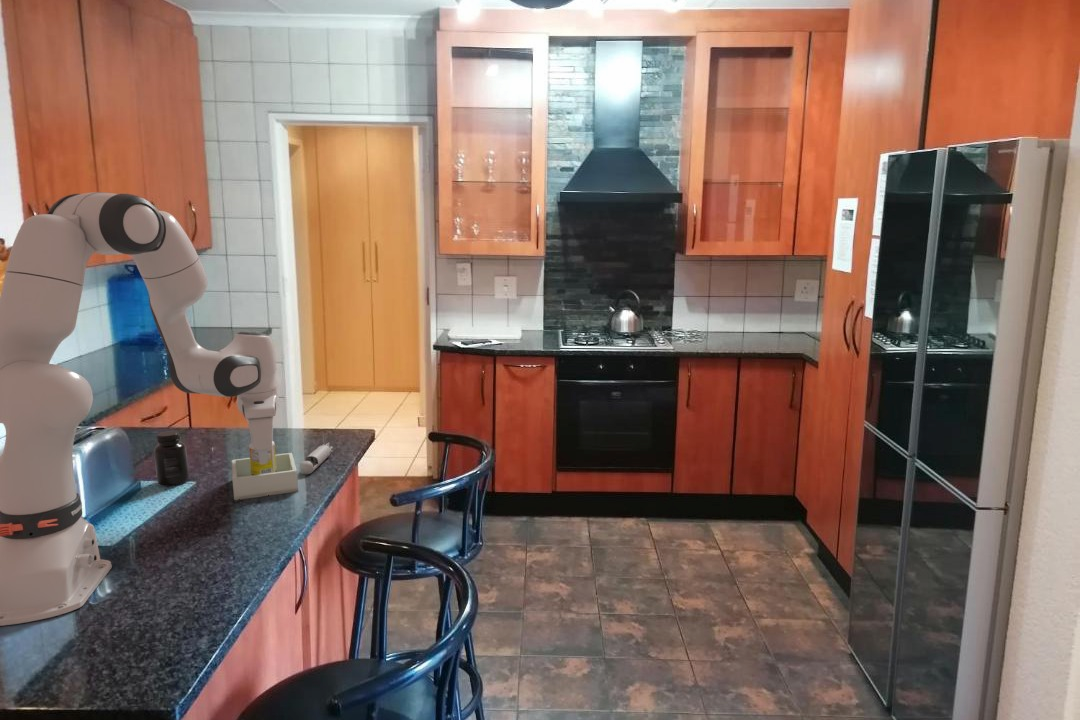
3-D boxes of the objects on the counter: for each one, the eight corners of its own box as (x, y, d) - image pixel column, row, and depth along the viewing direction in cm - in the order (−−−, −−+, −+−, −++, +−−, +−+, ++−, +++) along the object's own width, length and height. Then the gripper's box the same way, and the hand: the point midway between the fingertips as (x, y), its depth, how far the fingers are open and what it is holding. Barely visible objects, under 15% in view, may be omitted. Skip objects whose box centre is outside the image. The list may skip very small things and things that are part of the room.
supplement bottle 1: (195, 477, 177) (190, 429, 175) (179, 487, 171) (173, 438, 168) (168, 476, 178) (163, 428, 176) (151, 486, 171) (145, 437, 169)
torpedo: (314, 477, 178) (312, 451, 177) (295, 476, 178) (293, 451, 177) (338, 452, 196) (336, 429, 194) (320, 452, 196) (319, 428, 194)
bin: (298, 491, 168) (296, 470, 167) (234, 500, 163) (232, 479, 162) (293, 472, 181) (292, 452, 180) (233, 479, 176) (231, 459, 175)
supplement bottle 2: (262, 470, 175) (259, 429, 173) (282, 473, 173) (278, 431, 171) (246, 478, 170) (242, 436, 168) (265, 481, 168) (262, 438, 166)
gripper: (242, 392, 176) (247, 447, 179) (244, 413, 157) (249, 474, 160) (270, 389, 178) (274, 444, 181) (275, 410, 160) (280, 470, 163)
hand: (262, 458), depth 171 cm, fingers closed on supplement bottle 2, 6 cm apart
